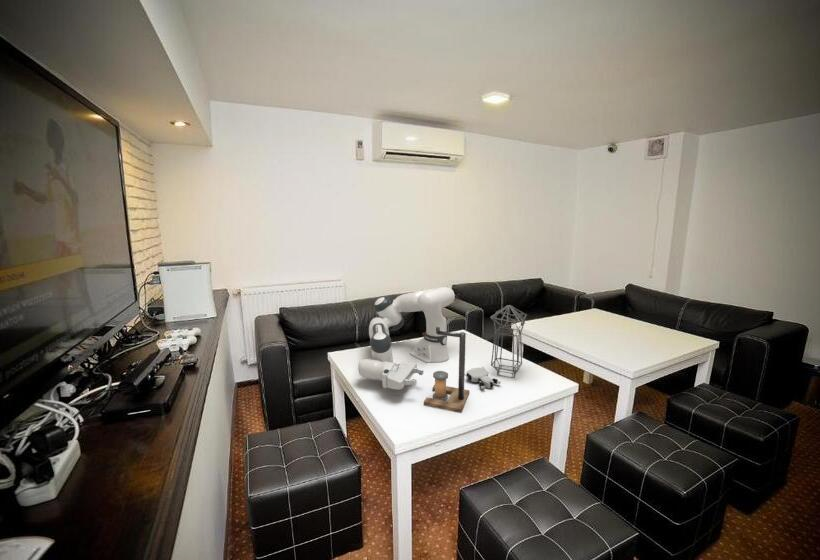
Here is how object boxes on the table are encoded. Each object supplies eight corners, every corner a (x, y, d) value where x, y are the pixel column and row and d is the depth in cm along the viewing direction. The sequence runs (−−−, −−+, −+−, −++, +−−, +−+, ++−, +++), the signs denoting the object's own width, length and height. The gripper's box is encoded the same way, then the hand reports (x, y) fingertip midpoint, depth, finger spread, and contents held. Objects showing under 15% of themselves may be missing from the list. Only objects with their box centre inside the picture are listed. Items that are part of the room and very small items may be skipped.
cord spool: (430, 398, 144) (430, 374, 142) (438, 392, 149) (439, 369, 147) (442, 403, 140) (442, 379, 138) (450, 397, 145) (451, 373, 143)
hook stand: (434, 394, 144) (435, 328, 138) (436, 392, 146) (436, 326, 141) (463, 400, 140) (465, 331, 134) (464, 397, 142) (466, 330, 136)
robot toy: (502, 388, 154) (481, 372, 167) (503, 379, 153) (482, 364, 166) (481, 394, 149) (461, 378, 162) (482, 385, 148) (462, 370, 160)
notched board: (423, 405, 139) (423, 401, 139) (434, 387, 154) (434, 384, 154) (461, 412, 133) (461, 409, 133) (469, 393, 148) (469, 390, 148)
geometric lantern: (487, 376, 164) (489, 307, 158) (494, 364, 178) (497, 300, 172) (520, 383, 157) (523, 310, 151) (525, 370, 170) (529, 303, 165)
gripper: (399, 369, 161) (426, 373, 156) (381, 389, 143) (411, 395, 138) (399, 357, 160) (426, 361, 155) (381, 375, 141) (411, 381, 137)
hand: (419, 377), depth 146 cm, fingers open, 8 cm apart
